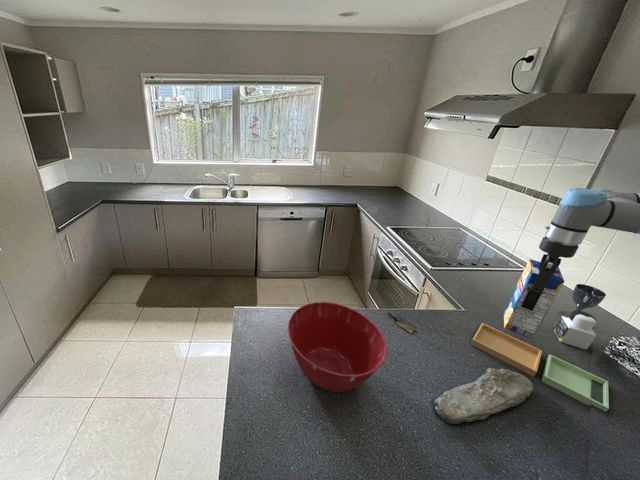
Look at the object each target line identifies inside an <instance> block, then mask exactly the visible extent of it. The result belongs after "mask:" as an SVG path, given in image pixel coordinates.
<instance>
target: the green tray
mask: <svg viewBox="0 0 640 480" xmlns="http://www.w3.org/2000/svg"><path fill="white" fill-rule="evenodd" d="M546 357H547V358H546V360H545V362H544V363H545V364H544V368H543V373H542V377H541V383H544V384H546V385H547V386H550V387H551V388H554V389H555V390H557V391H559V392H562V393H563V394H565V395H567V396H569V397H570V398H572V399H575V400H576V401H578V402H579V403H582V404H584V405H586V406H588V407H591V406H594V407H595V408H598V409H600V410H601V411H603V412H605V413H607V412H608V410H609V409H610V394H609V393H610V392H609V381H608V380H605V379H604V378H602V377H600V376H597V375H595V374H593V373H591V372H589V371H587V370H584V369H583V368H580V367H578V366H576V365H573V364H572V363H569V362H568V361H565V360H563V359H561V358H559V357H557V356H554V355H552V354H550V353H549V355H548V356H546ZM592 381H594V382H597V383H599V384H601V385H602V403H601V402H599V401H598V400H595V399H593V398H592Z"/></svg>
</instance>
